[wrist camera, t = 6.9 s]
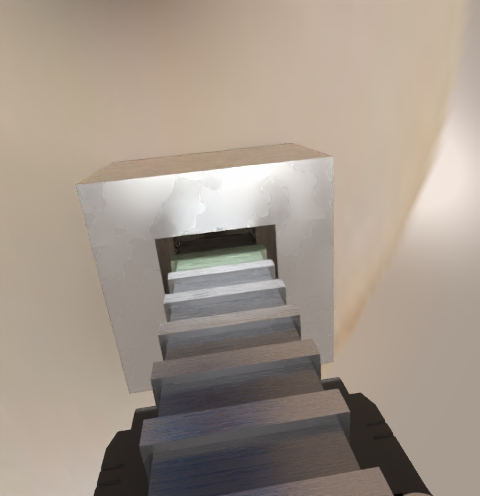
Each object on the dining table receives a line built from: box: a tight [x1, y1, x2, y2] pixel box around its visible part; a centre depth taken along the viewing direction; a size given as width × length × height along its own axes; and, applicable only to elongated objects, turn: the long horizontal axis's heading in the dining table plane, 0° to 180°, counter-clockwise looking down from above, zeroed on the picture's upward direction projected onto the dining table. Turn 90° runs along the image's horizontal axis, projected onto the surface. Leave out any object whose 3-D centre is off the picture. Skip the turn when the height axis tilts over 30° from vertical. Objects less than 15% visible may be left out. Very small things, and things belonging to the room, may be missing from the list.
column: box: [139, 233, 394, 496], centre depth 13 cm, size 4×4×16 cm
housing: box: [76, 143, 333, 393], centre depth 23 cm, size 13×12×8 cm
